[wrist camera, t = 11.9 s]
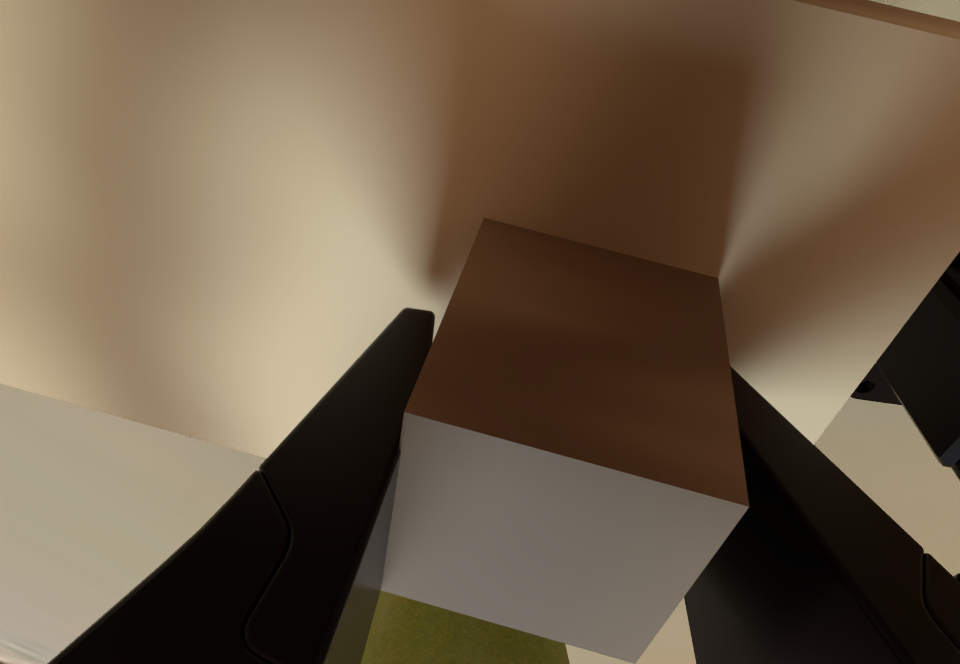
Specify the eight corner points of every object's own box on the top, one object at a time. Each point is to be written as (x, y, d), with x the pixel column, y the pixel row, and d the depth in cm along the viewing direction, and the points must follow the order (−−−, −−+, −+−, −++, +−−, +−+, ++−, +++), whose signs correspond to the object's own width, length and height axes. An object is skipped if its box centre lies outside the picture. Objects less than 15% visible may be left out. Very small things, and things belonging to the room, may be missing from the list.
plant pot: (451, 412, 21) (431, 707, 14) (637, 533, 25) (688, 807, 18) (287, 533, 26) (215, 801, 19) (468, 619, 30) (460, 864, 23)
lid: (1046, 42, 7) (1437, 278, 3) (705, 536, 13) (725, 806, 9) (-624, -352, 8) (-1624, -474, 4) (-230, 276, 14) (-527, 435, 10)
